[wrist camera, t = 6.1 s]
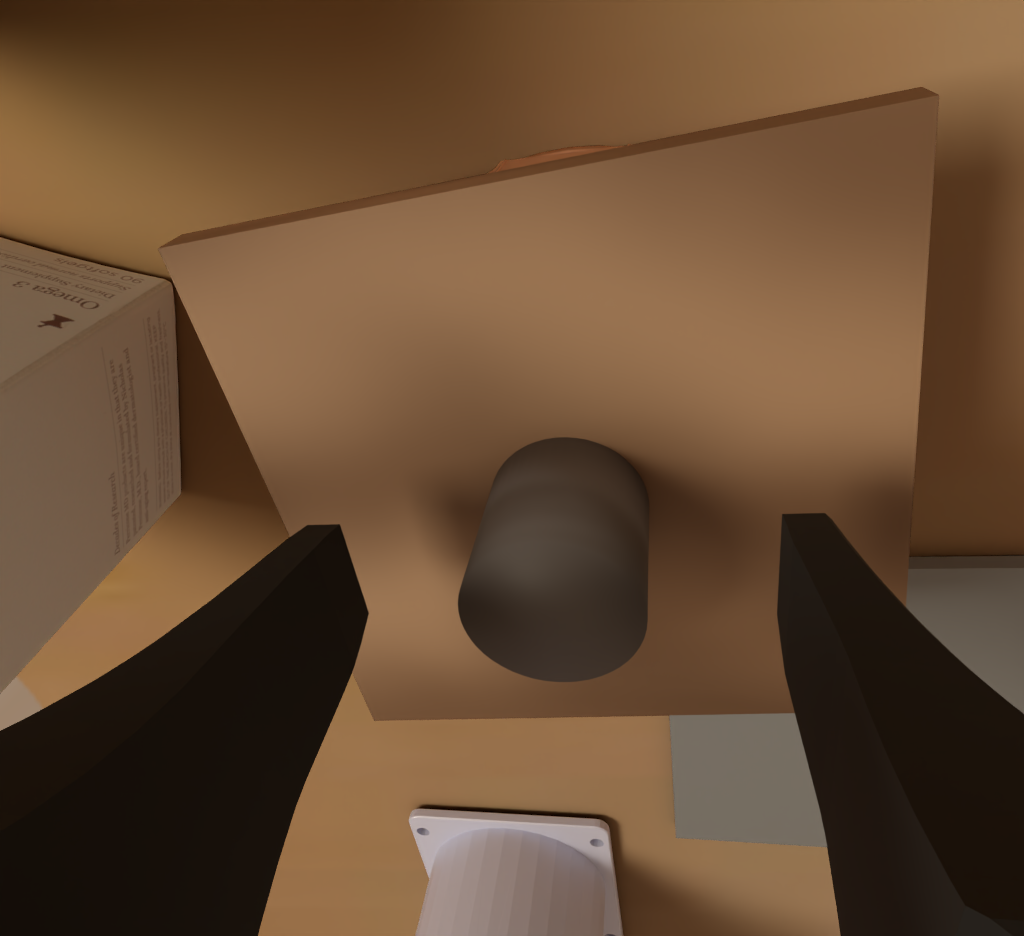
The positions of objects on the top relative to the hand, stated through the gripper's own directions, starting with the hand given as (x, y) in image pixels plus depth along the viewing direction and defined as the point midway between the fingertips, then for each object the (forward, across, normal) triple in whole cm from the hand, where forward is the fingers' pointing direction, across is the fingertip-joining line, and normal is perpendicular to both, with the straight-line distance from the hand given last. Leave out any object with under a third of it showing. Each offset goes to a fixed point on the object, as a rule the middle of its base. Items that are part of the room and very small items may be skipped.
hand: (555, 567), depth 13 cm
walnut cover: (+3, 0, 0) cm, 3 cm away
